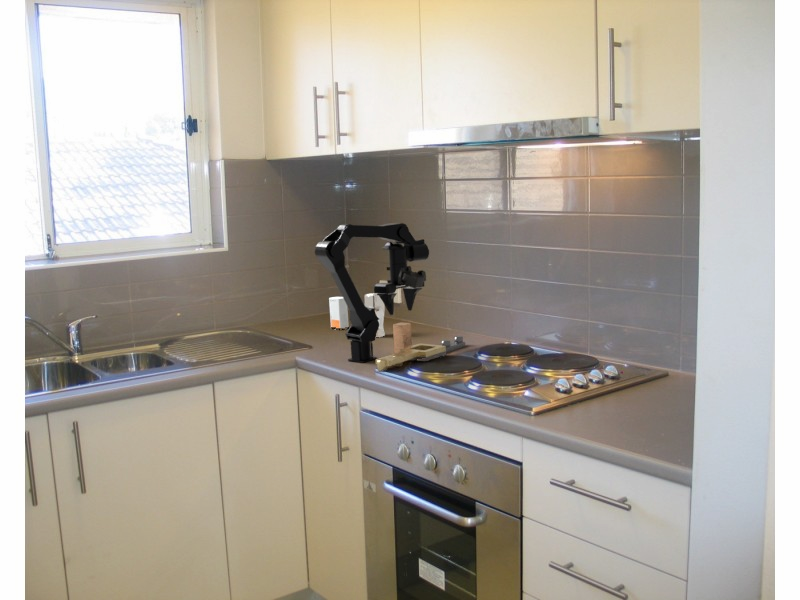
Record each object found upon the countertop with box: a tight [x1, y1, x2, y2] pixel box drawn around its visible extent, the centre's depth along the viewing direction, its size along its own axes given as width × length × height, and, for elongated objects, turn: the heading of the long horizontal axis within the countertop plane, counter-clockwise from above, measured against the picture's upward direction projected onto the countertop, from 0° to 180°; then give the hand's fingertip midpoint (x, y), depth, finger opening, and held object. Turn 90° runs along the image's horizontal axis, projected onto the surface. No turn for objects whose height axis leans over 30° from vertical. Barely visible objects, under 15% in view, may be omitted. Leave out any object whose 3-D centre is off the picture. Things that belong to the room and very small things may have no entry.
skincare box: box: [328, 296, 350, 328], centre depth 306 cm, size 6×4×12 cm
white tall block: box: [364, 292, 386, 338], centre depth 286 cm, size 7×7×15 cm
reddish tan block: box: [392, 322, 413, 354], centre depth 257 cm, size 4×4×9 cm
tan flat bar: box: [374, 335, 466, 372], centre depth 248 cm, size 41×10×3 cm, turn 141°
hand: (400, 312), depth 256 cm, fingers open, 9 cm apart
